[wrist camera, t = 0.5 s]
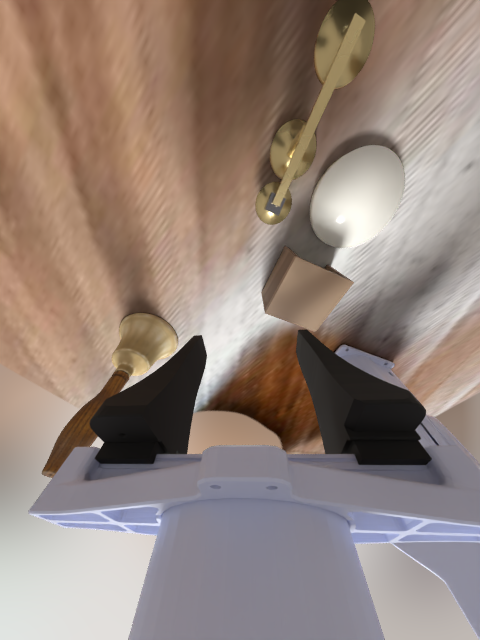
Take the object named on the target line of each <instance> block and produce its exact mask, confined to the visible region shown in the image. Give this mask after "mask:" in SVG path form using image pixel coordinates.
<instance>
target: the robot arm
mask: <svg viewBox="0 0 480 640" xmlns="http://www.w3.org/2000/svg"><path fill="white" fill-rule="evenodd" d="M296 353H297V357H298V361H299V365H300V367H301V370H302V373H303V375H304V378H305V380H306V383H307V385H308V388H309V391H310V394H311V397H312V400H313V404H314V408H315V411H316V415H317V419H318V423H319V427H320V432H321V436H322V440H323V445H324V449H325V454H286V452H285V451H284V450H283V449H281V448H279V447H276V446H269V445H219V446H212V447H209V448H207V449H206V450H204V451H203V454H187V450H188V441H189V435H190V428H191V422H192V416H193V411H194V406H195V400H196V396H197V392H198V389H199V386H200V383H201V379H202V376H203V373H204V369H205V365H206V358H207V354H206V350H205V346H204V342H203V338H202V335H199V336H193V337H192V338H191V339H190V340H189V341H188V342H187V343H186V344H185V345H184V346H183V347H182V348H181V349H180V350H179V351H178V352H177V353H176V354H175V355H174V356H173V357H172V358H171V359H170V360H169V361H168V362H166V363H165V364H164V365H163V366H161V367H160V368H159V369H157V370H156V371H155V372H153V373H152V374H150V375H149V376H147V377H146V378H144V379H143V380H141V381H140V382H138V383H136V384H135V385H133V386H131V387H129V388H127V389H125V390H124V391H122V392H120V393H118V394H115V395H113V396H111V397H109V398H107V399H106V400H105V401H104V402H103V404H102V405H101V406H100V408H99V409H98V410H97V412H96V413H95V414H94V416H93V417H92V418H91V420H90V422H89V424H90V427H91V429H92V430H93V432H94V433H95V434H96V435H97V436H98V437H100V438H101V439H102V440H103V441H104V444H103V446H102V447H101V449H100V448H97V447H75V448H74V449H73V451H72V452H71V453H70V455H69V456H68V458H67V459H66V460H65V462H64V463H63V464H62V466H61V467H60V469H59V470H58V471H57V473H56V474H55V475H54V477H53V478H52V480H51V481H50V482H49V484H48V485H47V486H46V488H45V489H44V491H43V492H42V493H41V495H40V496H39V498H38V499H37V500H36V502H35V503H34V505H33V506H32V507H31V509H30V510H29V511H28V512H29V514H30V515H33V516H35V517H38V518H41V519H43V520H46V521H48V522H51V523H53V524H56V525H58V526H61V527H64V528H83V529H96V530H107V531H117V532H127V533H137V534H146V535H155V536H157V538H156V541H155V545H154V549H153V552H152V556H151V559H150V563H149V566H148V570H147V574H146V577H145V581H144V584H143V588H142V592H141V595H140V599H139V602H138V606H137V610H136V613H135V617H134V620H133V624H132V628H131V631H130V635H129V638H128V640H385V639H384V636H383V632H382V629H381V626H380V623H379V620H378V617H377V613H376V611H375V608H374V604H373V601H372V598H371V595H370V592H369V588H368V585H367V582H366V579H365V576H364V573H363V570H362V567H361V563H360V560H359V558H358V554H357V551H356V548H355V545H354V544H363V543H364V544H365V543H392V544H393V545H394V546H395V547H396V548H398V549H399V550H401V551H402V552H403V553H405V554H406V555H408V556H409V557H411V558H412V559H414V560H415V561H416V562H418V563H419V564H421V565H422V566H424V567H425V568H427V569H428V570H430V571H431V572H432V573H434V574H435V575H436V576H438V577H439V578H440V579H441V580H442V581H444V582H445V583H446V585H447V587H448V589H449V590H450V592H451V594H452V595H453V597H454V599H455V600H456V602H457V604H458V605H459V607H460V609H461V610H462V612H463V614H464V615H465V617H466V619H467V620H468V622H469V624H470V626H471V627H472V629H473V630H474V632H475V634H476V636H477V637H478V639H479V640H480V463H479V462H478V461H477V460H476V459H475V458H474V457H473V455H472V454H470V452H469V451H468V450H467V449H466V448H465V447H464V446H463V445H462V444H461V443H460V442H459V441H458V439H457V438H456V437H455V436H454V435H453V434H452V433H451V432H450V431H449V430H448V429H447V428H446V427H445V426H444V425H443V424H442V423H441V422H440V421H439V420H438V419H436V418H435V417H433V416H429V415H426V410H425V408H424V407H423V406H422V404H421V403H420V402H419V401H418V399H417V398H416V397H415V396H414V395H413V394H412V393H411V392H410V391H409V389H408V388H407V387H406V386H405V385H404V384H403V383H402V382H401V381H400V379H399V378H398V377H397V376H396V375H395V374H394V373H393V372H392V370H391V368H393V367H394V365H395V364H394V363H393V362H391V361H388V360H385V359H383V358H380V357H377V356H374V355H372V354H369V353H366V352H364V351H361V350H358V349H355V348H353V347H350V346H347V345H341V346H340V347H339V348H338V349H337V350H336V352H335V353H334V352H333V351H331V350H330V349H329V348H327V347H326V346H325V345H324V344H322V343H321V342H320V341H319V340H318V339H317V338H316V337H314V336H313V335H312V334H311V333H310V332H309V331H308V330H298V336H297V347H296Z"/></svg>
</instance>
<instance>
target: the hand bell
mask: <svg viewBox="0 0 480 640" xmlns="http://www.w3.org/2000/svg"><path fill="white" fill-rule="evenodd" d="M119 336H120V339H121V341H120V343H119V345H118V347H117V348H116V350H115V351H114V353H113V355H112V363H113V365H114V366H115V367H116V368H117V369H116V370H115V372H114V373H113V375H112V377H111V378H110V379H109V381H108V382H107V383H106V385H105V386H104V388H103V389H102V390H101V392H100V393H99V394H98V395H97V396H96V397H94V398H93V399H92V400H91V401H89V402H88V403H87V404H85V405H84V406H83V407H82V408H81V409H80V410H79V411H78V412H77V413H76V414H75V416H74V417H73V418H72V419H71V420H70V421H69V422H68V424H67V425H66V426H65V428H64V429H63V431H62V432H61V434H60V436H59V437H58V439H57V441H56V443H55V445H54V448H53V450H52V452H51V455H50V457H49V459H48V461H47V463H46V465H45V467H44V469H43V471H42V475H44V476H47V477H51V478H53V477H54V475H55V474H56V473H57V471H58V470H59V469H60V467H61V466H62V464H63V463H64V462H65V460H66V459H67V458H68V456H69V455H70V453H71V452H72V451H73V449H74V448H75V447H90V446H91V445H92V443H93V442H94V441H95V439H96V438H97V437H98V436H97V435H96V434H95V433H94V432H93V430H92V429H91V427H90V424H89V422H90V420H91V418H92V417H93V416H94V414H95V413H96V412H97V410H98V409H99V408H100V406H101V405H102V404H103V402H104V401H105V400H106V399H107V398H109V397H111V396H113V395H115V394H118V393H119V392H120V391H121V389H122V388H123V387H124V385H125V384H126V382H127V381H128V380H129V377H130V376H131V375H133V376H137V375H142V374H144V373H146V372H147V371H148V370H149V369H150V367H151V366H152V365H153V364H154V363H155V362H156V361H157V360H160V359H164V358H167V357H169V356H170V355H172V354H173V353H174V352H175V350H176V349H177V346H178V338H177V335H176V332H175V331H174V329H173V328H172V327H171V326H170V325H169V324H168V323H167V322H166V321H164V320H163V319H161V318H159V317H157V316H155V315H152V314H147V313H135V314H131V315H129V316H127V317H125V318H124V319H123V320H122V322H121V324H120V327H119Z"/></svg>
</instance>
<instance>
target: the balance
mask: <svg viewBox="0 0 480 640" xmlns="http://www.w3.org/2000/svg"><path fill="white" fill-rule="evenodd" d="M374 31H375V21H374V14H373V10H372V7H371V5H370V3H369V2H368V0H338V1H337V2H336V3H335V4H334V5H333V6H332V7H331V9H330V10H329V12H328V13H327V15H326V17H325V18H324V20H323V23H322V25H321V28H320V30H319V33H318V36H317V39H316V43H315V49H314V67H315V71H316V75H317V77H318V79H319V81H320V82H321V84H322V85H323V86H322V88H321V90H320V93H319V95H318V97H317V100H316V102H315V104H314V107H313V109H312V111H311V114H310V116H309V118H308V121H307V122H306V121H304V120H301V119H294V120H290V121H288V122H287V123H285V124H284V125H283V126H282V127H281V128H280V129H279V130H278V132H277V133H276V135H275V137H274V140H273V142H272V145H271V149H270V164H271V167H272V170H273V172H274V173H275V175H276V176H277V177H279V178H280V179H282V181H281V183H279V182H272V183H269V184H267V185H265V186H264V187H263V188H262V189H261V190H260V192H259V193H258V196H257V198H256V204H255V206H256V212H257V215H258V217H259V218H260V219H261V220H262V221H263V222H264V223H266V224H270V225H274V224H278V223H280V222H282V221H283V220H284V219H285V218H286V217H287V215H288V214H289V212H290V209H291V205H292V198H291V194H290V191H289V189H288V187H289V185H290V183H291V181H292V180H294V179H297V178H298V177H300V176H302V175H303V174H304V173H305V172H306V171H307V170H308V169H309V167H310V166H311V164H312V162H313V159H314V157H315V153H316V137H315V133H314V132H315V129H316V127H317V125H318V123H319V121H320V118H321V116H322V114H323V112H324V110H325V108H326V106H327V103H328V101H329V99H330V97H331V95H332V93H333V91H334V90H335V89H340V88H343V87H345V86H346V85H348V84H349V83H350V82H351V81H352V80H353V79H354V78H355V77H356V76H357V74H358V73H359V72H360V71H361V69H362V68H363V66H364V64H365V62H366V60H367V58H368V56H369V53H370V51H371V47H372V44H373V39H374Z"/></svg>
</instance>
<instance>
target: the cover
mask: <svg viewBox="0 0 480 640" xmlns="http://www.w3.org/2000/svg"><path fill="white" fill-rule="evenodd" d="M353 283H354V282H353V281H351V280H350V279H348V278H347V277H345V276H344V275H342V274H341V273H339V272H338V271H337V270H335V269H334V268H332V267H331V266H329V265H326V267H325V269H324V268H322V267H320V266H317V265H315V264H313V263H311V262H308V261H306V260H304V259H302V258H300V257H299V256H298V255H296V254H295V253H294V252H293V251H292V250H291V249H290V248H289V247H286V246H285V247H284V249H283V251H282V253H281V255H280V257H279V259H278V261H277V263H276V265H275V267H274V269H273V271H272V273H271V275H270V277H269V279H268V281H267V283H266V285H265V287H264V289H263V291H262V298H263V304H264V310H265V313H266V314H268V315H271V316H274V317H277V318H279V319H282V320H285V321H287V322H290V323H293V324H295V325H298V326H301V327H304V328H306V329H309V330H312V331H314V332H316V331H317V329H318V328H319V327H320V326H321V324H322V323H323V322H324V320H325V319H326V318H327V317H328V315H329V314H330V313H331V311H332V310H333V309H334V308H335V306H336V305H337V304H338V302H339V301H340V300H341V299H342V297H343V296H344V295H345V293H346V292H347V291H348V290H349V288H350V287H351V286H352V284H353Z"/></svg>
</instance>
